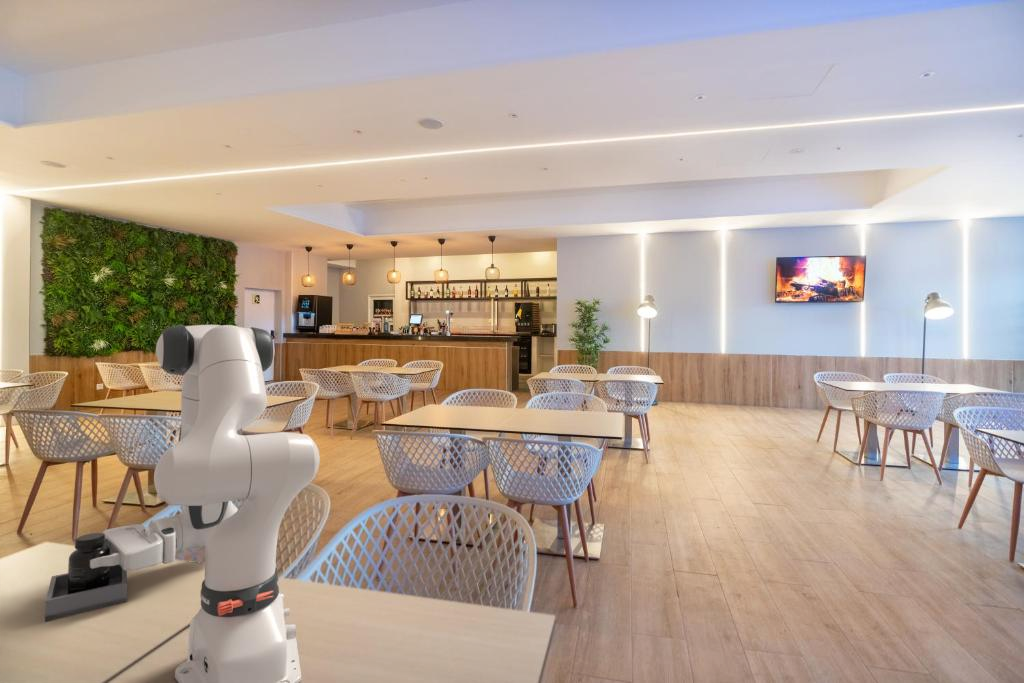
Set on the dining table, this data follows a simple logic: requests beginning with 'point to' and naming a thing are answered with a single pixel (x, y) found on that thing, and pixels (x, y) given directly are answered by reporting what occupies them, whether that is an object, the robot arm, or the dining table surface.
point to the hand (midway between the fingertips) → (84, 557)
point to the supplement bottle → (87, 564)
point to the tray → (84, 595)
